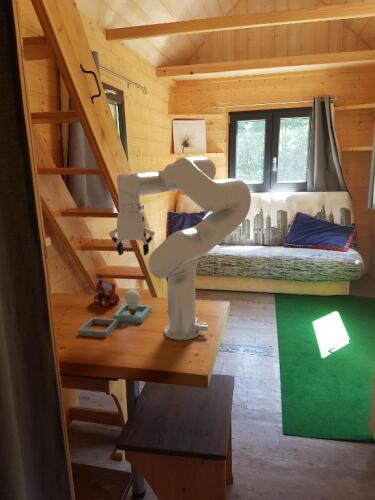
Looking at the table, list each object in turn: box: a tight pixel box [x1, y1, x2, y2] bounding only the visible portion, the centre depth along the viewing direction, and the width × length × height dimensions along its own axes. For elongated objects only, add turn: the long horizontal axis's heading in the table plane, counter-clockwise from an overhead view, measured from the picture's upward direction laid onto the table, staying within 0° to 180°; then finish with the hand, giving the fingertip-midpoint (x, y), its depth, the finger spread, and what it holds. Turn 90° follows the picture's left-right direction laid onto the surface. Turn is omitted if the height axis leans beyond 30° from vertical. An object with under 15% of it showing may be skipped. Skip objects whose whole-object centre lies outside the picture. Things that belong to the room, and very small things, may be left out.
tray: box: [112, 303, 152, 324], centre depth 145 cm, size 11×11×2 cm
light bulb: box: [124, 289, 141, 315], centre depth 144 cm, size 6×6×10 cm
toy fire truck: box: [93, 278, 120, 308], centre depth 158 cm, size 7×12×10 cm, turn 48°
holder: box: [77, 317, 120, 338], centre depth 135 cm, size 10×10×2 cm
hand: (133, 254), depth 140 cm, fingers open, 9 cm apart
